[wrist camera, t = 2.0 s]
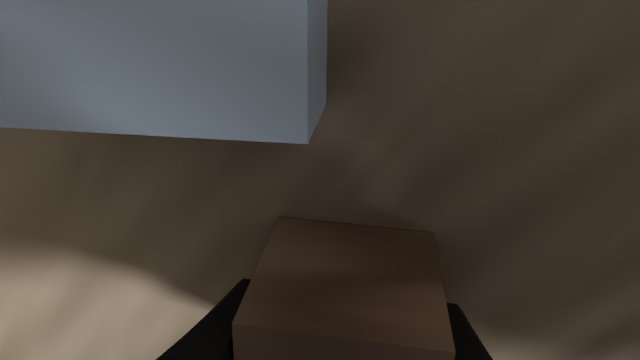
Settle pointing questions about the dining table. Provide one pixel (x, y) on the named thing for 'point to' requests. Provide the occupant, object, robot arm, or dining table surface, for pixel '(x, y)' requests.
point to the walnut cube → (344, 296)
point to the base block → (165, 67)
